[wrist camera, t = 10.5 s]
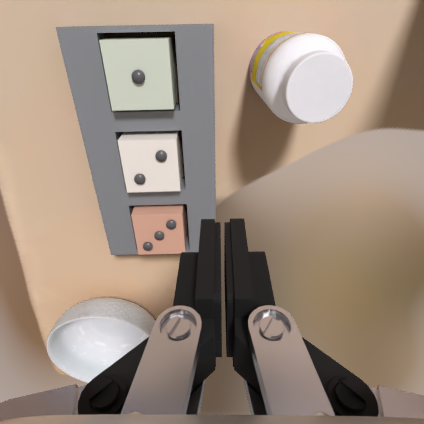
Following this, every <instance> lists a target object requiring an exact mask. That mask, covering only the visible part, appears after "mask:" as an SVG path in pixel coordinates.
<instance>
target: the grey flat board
mask: <svg viewBox="0 0 424 424" xmlns="http://www.w3.org/2000/svg"><path fill="white" fill-rule="evenodd" d="M56 30H57V34H58V39H59V43H60V47H61V51H62V55H63V59H64V63H65V67H66V71H67V75H68V80H69V84H70V88H71V92H72V96H73V100H74V104H75V108H76V112H77V116H78V121H79V125H80V129H81V133H82V137H83V141H84V145H85V149H86V153H87V158H88V162H89V166H90V170H91V174H92V178H93V182H94V186H95V190H96V194H97V199H98V203H99V207H100V211H101V215H102V219H103V223H104V227H105V231H106V236H107V240H108V244H109V248H110V252H111V255H123V254H138V249H137V244H136V239H135V233H134V228H133V222H132V217H131V214H132V212H133V209H134V206H135V205H170V204H187V215H188V230H189V236H187V238H186V252H199V239H200V226H201V219H215V223H216V189H215V106H214V24H182V25H132V26H82V27H56ZM172 31H175V42H176V57H177V71H178V86H179V100H180V104H175V107H174V109H162V110H119V111H112V107H111V102H110V96H109V91H108V86H107V80H106V75H105V69H104V64H103V58H102V53H101V47H100V42H99V40H102V39H107V38H106V33H122V32H172ZM175 130H182V143H183V158H184V172H185V178H182V183H181V191H166V192H129V193H127V189H126V184H125V179H124V173H123V168H122V162H121V157H120V151H119V146H118V139H119V138H120V137H121V135H122V134H123V132H135V131H175Z"/></svg>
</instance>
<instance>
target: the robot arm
mask: <svg viewBox="0 0 424 424" xmlns="http://www.w3.org/2000/svg"><path fill="white" fill-rule="evenodd" d="M220 241H221V240H220V222H219V223H218V222H217V223H215V219H201V226H200V239H199V252H182V253H181V257H180V263H179V270H178V277H177V283H176V290H175V297H174V304H173V307H170V308H168V309H166V310H164V311H163V312H162V313H161V314H160V315H159V316H158V318H157V319H156V321H155V323H154V326H153V329H152V331H151V334H150V336H149V337H148V338H147V339H145V340H144V341H143V342H141V343H140V344H139V345H137V346H136V347H135V348H133V349H132V350H131V351H129V352H128V353H127V354H125V355H124V356H123V357H121V358H120V359H119V360H117V361H116V362H115V363H113V364H112V365H111V366H109V367H108V368H107V369H105V370H104V371H103V372H101V373H100V374H99V375H97V376H96V377H95V378H93V379H92V380H91V381H90V382H89V383H88V384H87V385H85V386H81V387H78V386H77V385H76V384H75V385H70V386H66V387H62V388H57V389H53V390H49V391H44V392H40V393H35V394H31V395H26V396H22V397H18V398H13V399H9V400H7V401H4V402H2V403H0V424H424V396H423V395H418V394H414V393H409V392H405V391H401V390H397V389H392V388H388V387H384V386H378V387H377V388H372V387H369V386H367V384H365V383H364V382H363V381H362V380H361V379H360V378H358V377H357V376H355V375H354V374H353V373H351V372H350V371H348V370H347V369H346V368H344V367H343V366H342V365H340V364H339V363H337V362H336V361H334V360H333V359H332V358H330V357H329V356H328V355H326V354H325V353H323V352H322V351H321V350H319V349H318V348H316V347H315V346H314V345H312V344H311V343H310V342H308V341H307V340H305V339H304V338H303V337H301V334H300V332H299V329H298V327H297V325H296V323H295V320H294V319H293V317H292V316H291V315H290V314H289V313H288V312H287V311H286V310H284V309H282V308H280V307H276V306H275V301H274V296H273V291H272V286H271V281H270V275H269V270H268V265H267V260H266V255H265V252H248V247H247V239H246V231H245V223H244V219H230V222H228V223H227V222H225V311H226V349H227V357H233V367H234V370H235V371H236V372H237V373H239V375H241V376H242V377H243V378H244V383H245V389H246V393H247V398H248V402H249V407H250V412H251V415H200V409H201V404H202V398H203V392H204V387H205V379H206V378H207V377H208V376H209V375H210V374H211V373H212V372H213V371H214V370H215V366H216V364H215V363H216V362H215V361H216V359H215V358H216V357H222V349H221V348H222V342H221V340H222V339H221V336H222V334H221V245H220V244H221V242H220Z"/></svg>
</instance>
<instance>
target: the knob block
mask: <svg viewBox="0 0 424 424" xmlns="http://www.w3.org/2000/svg"><path fill="white" fill-rule="evenodd" d="M99 42H100V47H101V53H102V58H103V64H104V69H105V75H106V80H107V86H108V91H109V96H110V102H111V107H112V111H119V110H162V109H174V107H175V104H176V101H177V96H176V82H175V69H174V55H173V42H172V37H131V38H108V39H102V40H99Z"/></svg>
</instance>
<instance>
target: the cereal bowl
mask: <svg viewBox="0 0 424 424" xmlns="http://www.w3.org/2000/svg"><path fill="white" fill-rule="evenodd" d="M154 323H155V320H154V318H153V317H152V316H151V315H150V314H149V313H148V312H147V311H146V310H145V309H143V308H142V307H140V306H138V305H137V304H135V303H133V302H130V301H127V300H123V299H119V298H110V297H103V298H102V297H100V298H94V299H90V300H86V301H84V302H81V303H78V304H77V305H74V306H73V307H71V308H70V309H69V310H67V311H66V312H65V313H64V314H63V315H62V316H61V317H60V318H59V320H58V321H57V322H56V324H55V325H54V327H53V329H52V330H51V332H50V334H49V336H48V339H47V352H48V355H49V357H50V359H51V360H52V362H53V363H54V364H55V365H56V366H57V367H58V368H59V369H60V370H62V371H63V372H65V373H66V374H68V375H70V376H72V377H74V378H76V379H79V380H81V381H84V382H87V383H89V382H90V381H91V380H92V379H93V378H95V377H96V376H97V375H99V374H100V373H101V372H103V371H104V370H105V369H107V368H108V367H109V366H111V365H112V364H113V363H115V362H116V361H117V360H119V359H120V358H121V357H123V356H124V355H125V354H127V353H128V352H129V351H131V350H132V349H133V348H135V347H136V346H137V345H139V344H140V343H141V342H143V341H144V340H145V339H147V338H148V337H149V336H150V334H151V331H152V329H153V326H154Z"/></svg>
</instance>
